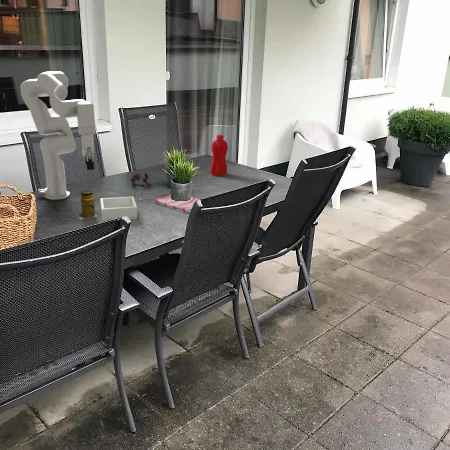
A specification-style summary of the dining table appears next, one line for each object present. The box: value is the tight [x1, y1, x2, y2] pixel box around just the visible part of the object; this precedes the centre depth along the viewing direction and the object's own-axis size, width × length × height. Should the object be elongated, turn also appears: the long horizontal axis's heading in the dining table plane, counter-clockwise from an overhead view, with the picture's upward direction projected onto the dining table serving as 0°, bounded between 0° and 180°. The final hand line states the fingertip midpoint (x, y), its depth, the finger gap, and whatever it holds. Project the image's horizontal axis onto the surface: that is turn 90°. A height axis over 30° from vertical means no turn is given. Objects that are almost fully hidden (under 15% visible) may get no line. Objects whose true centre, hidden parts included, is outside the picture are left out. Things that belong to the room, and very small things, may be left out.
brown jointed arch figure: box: [129, 172, 149, 188], centre depth 272 cm, size 12×10×8 cm
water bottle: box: [210, 134, 229, 177], centre depth 291 cm, size 9×11×25 cm
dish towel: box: [154, 193, 200, 214], centre depth 245 cm, size 17×23×4 cm
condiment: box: [75, 190, 98, 220], centre depth 224 cm, size 7×8×12 cm
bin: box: [99, 196, 138, 222], centre depth 228 cm, size 16×15×6 cm
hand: (89, 166), depth 220 cm, fingers open, 9 cm apart
